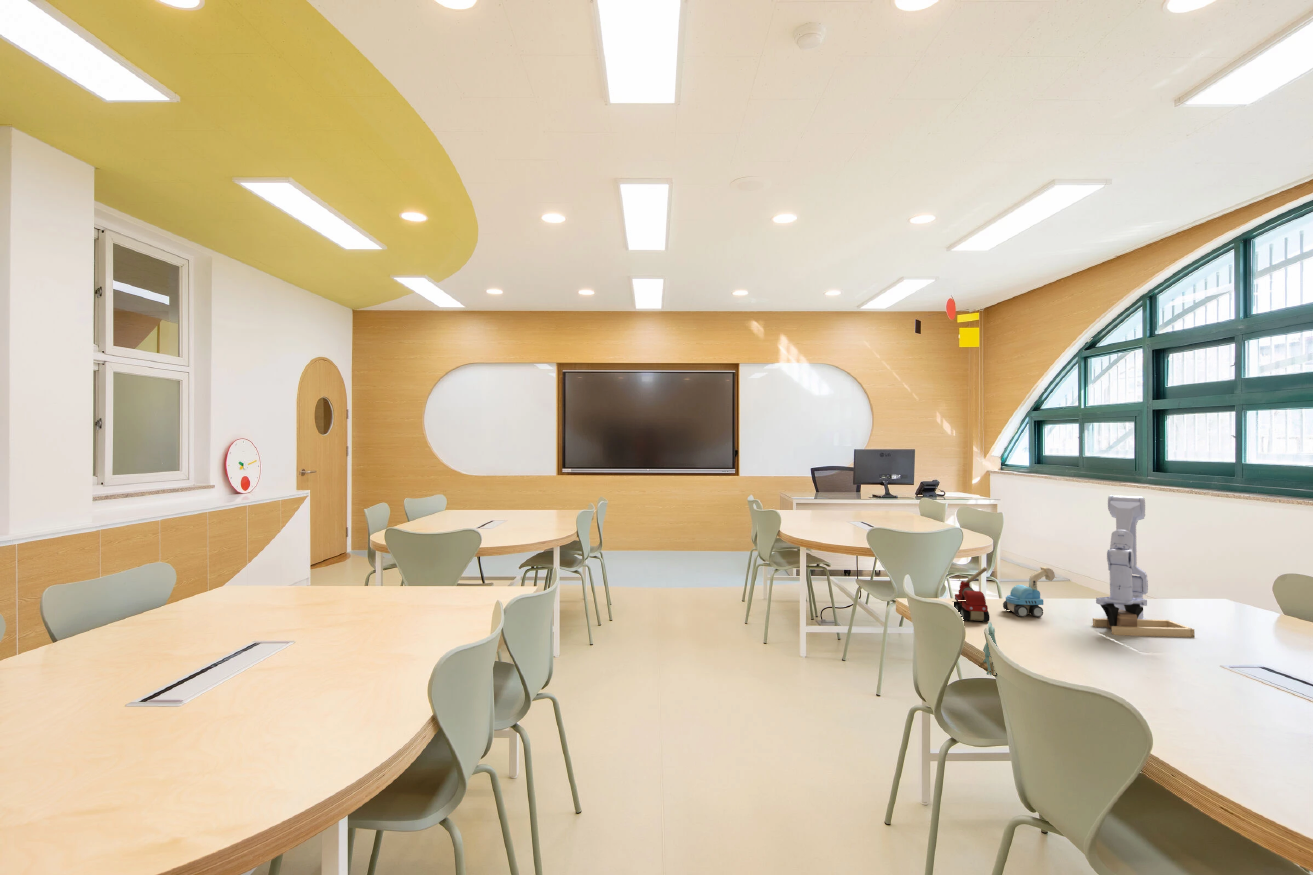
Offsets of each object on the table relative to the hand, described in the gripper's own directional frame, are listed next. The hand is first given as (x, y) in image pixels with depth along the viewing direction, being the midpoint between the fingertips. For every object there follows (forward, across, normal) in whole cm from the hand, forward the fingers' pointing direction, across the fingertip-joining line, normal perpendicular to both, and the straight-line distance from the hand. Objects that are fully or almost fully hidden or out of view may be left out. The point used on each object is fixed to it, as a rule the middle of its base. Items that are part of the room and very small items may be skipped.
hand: (1121, 626), depth 180 cm
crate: (+1, 0, 0) cm, 1 cm away
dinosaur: (+2, -58, -34) cm, 67 cm away
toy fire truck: (+2, -40, +14) cm, 43 cm away
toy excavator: (+2, -18, +19) cm, 26 cm away
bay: (+2, +6, 0) cm, 6 cm away
